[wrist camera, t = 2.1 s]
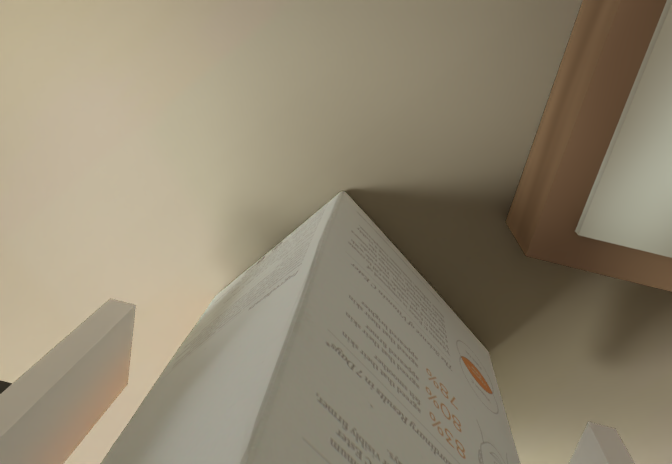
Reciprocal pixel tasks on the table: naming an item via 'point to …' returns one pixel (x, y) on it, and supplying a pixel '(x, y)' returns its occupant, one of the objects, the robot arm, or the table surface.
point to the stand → (605, 149)
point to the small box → (325, 365)
